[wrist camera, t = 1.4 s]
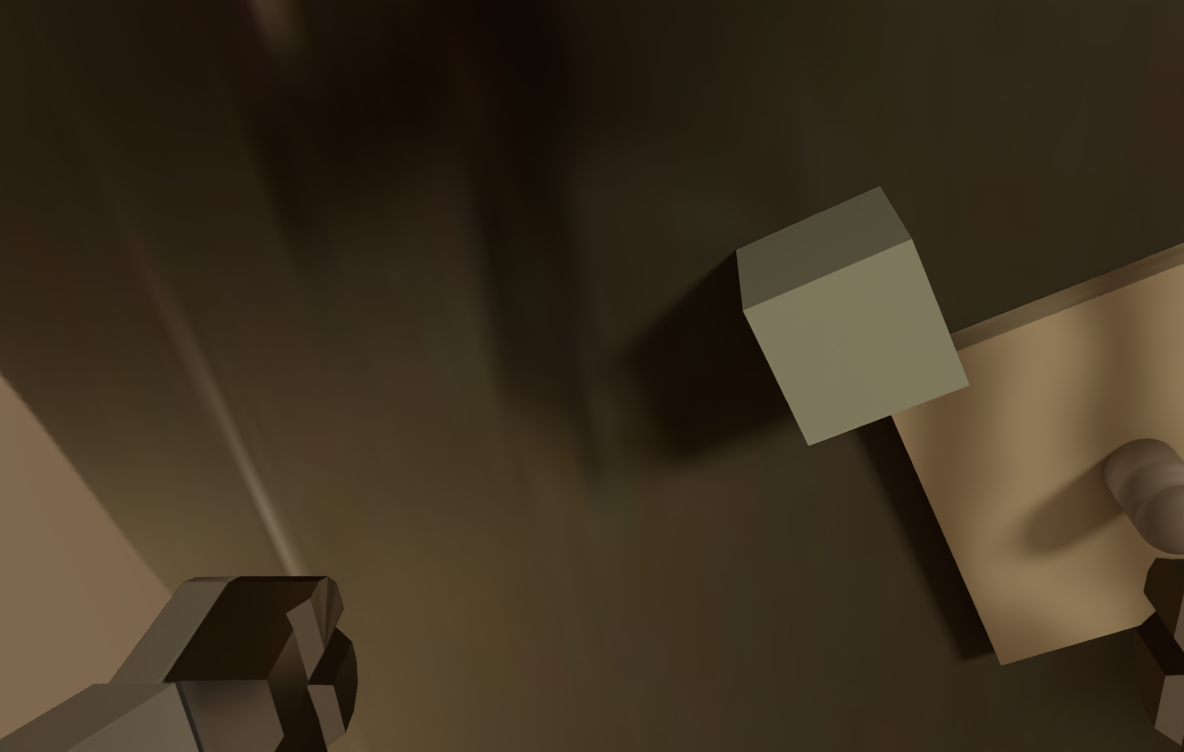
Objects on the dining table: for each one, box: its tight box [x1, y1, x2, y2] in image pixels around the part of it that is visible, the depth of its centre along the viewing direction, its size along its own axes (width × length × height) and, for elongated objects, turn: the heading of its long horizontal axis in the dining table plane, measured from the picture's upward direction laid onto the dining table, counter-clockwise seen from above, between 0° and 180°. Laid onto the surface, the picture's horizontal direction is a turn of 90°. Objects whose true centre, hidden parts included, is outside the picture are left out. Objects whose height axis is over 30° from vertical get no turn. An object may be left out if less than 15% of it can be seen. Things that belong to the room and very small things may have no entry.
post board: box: [891, 243, 1184, 665], centre depth 37 cm, size 16×16×6 cm
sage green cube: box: [736, 186, 969, 445], centre depth 35 cm, size 6×6×6 cm
